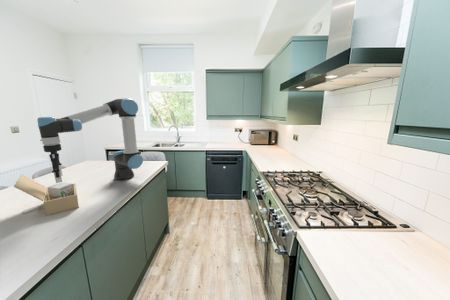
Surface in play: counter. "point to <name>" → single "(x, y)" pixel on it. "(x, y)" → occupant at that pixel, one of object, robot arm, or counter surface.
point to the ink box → (60, 190)
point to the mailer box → (60, 203)
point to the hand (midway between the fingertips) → (59, 179)
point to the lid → (31, 187)
